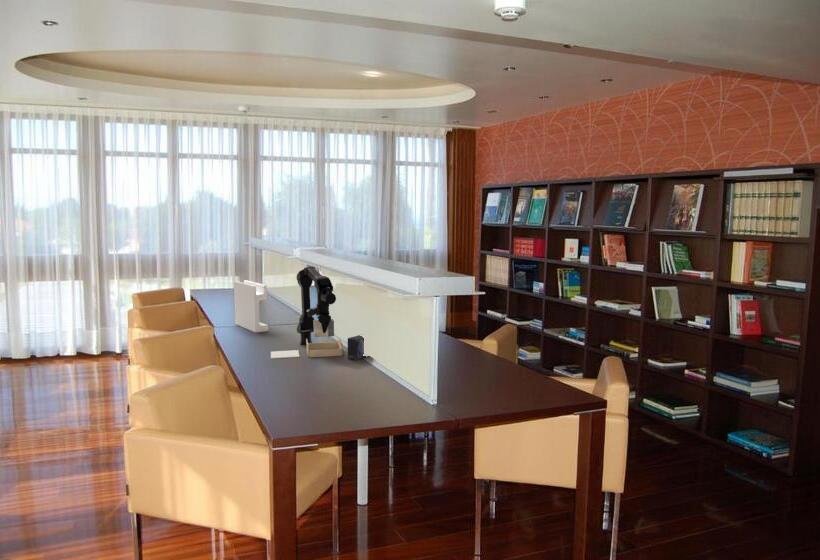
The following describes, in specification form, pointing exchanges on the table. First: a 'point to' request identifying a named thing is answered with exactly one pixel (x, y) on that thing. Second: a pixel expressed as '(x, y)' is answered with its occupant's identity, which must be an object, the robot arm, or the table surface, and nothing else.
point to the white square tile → (284, 354)
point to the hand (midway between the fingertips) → (323, 331)
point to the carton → (325, 349)
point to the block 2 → (319, 332)
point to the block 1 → (249, 305)
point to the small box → (356, 347)
